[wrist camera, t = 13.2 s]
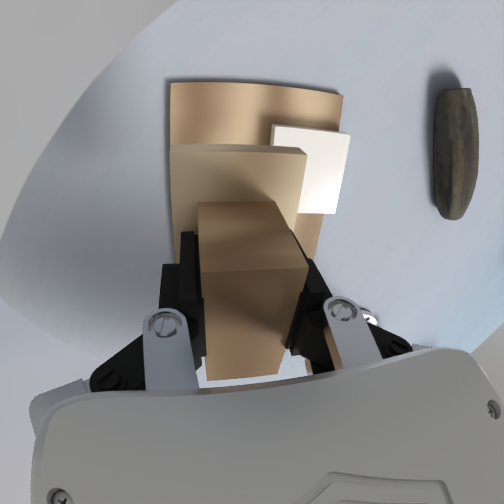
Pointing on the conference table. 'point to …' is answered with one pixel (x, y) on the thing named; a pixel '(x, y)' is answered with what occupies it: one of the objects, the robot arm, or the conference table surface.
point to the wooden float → (242, 248)
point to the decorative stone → (455, 152)
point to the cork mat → (251, 123)
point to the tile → (316, 164)
